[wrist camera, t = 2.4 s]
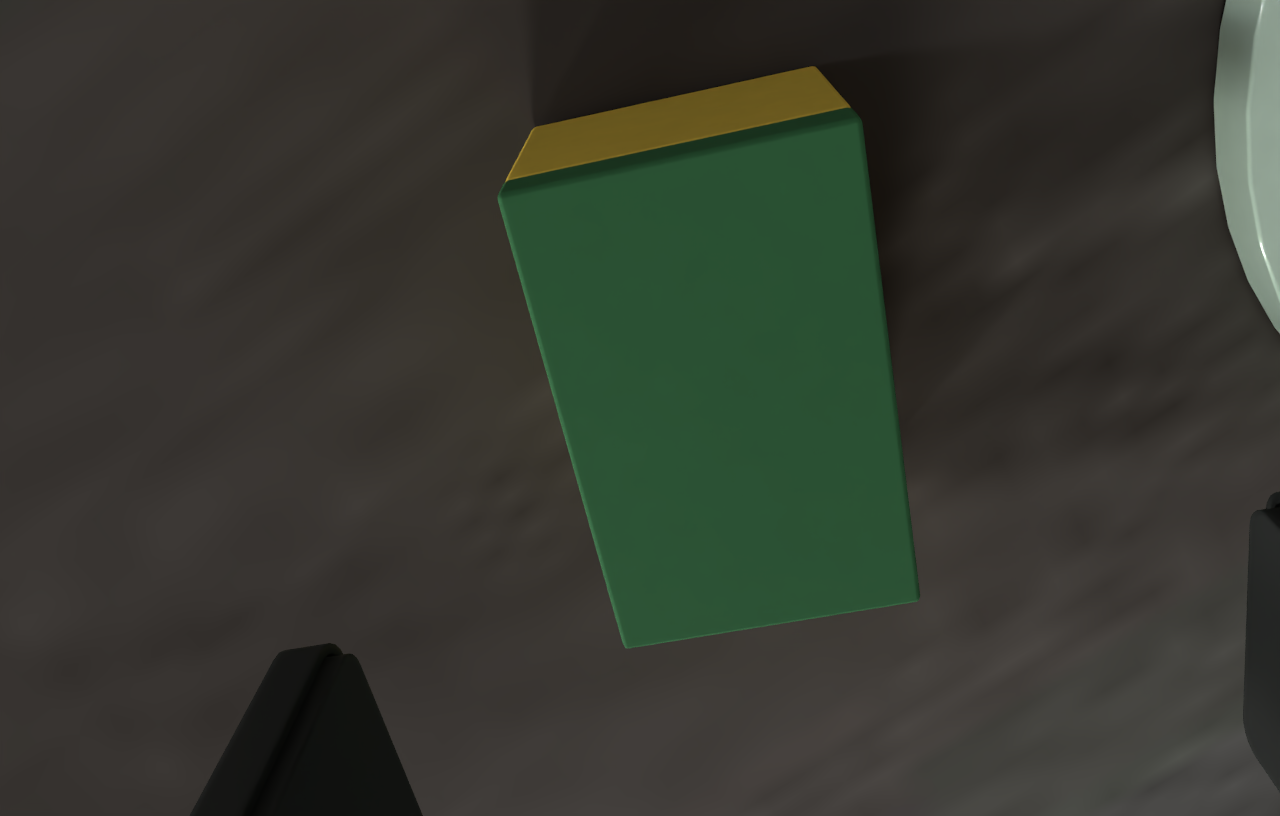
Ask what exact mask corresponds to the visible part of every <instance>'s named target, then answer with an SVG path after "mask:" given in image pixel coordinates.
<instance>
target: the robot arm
mask: <svg viewBox="0 0 1280 816" xmlns="http://www.w3.org/2000/svg"><path fill="white" fill-rule="evenodd" d="M1243 721H1244V728H1245V733H1246V736H1247V739H1248V742H1249V744H1250V747H1251V749H1252V751H1253V753H1254V755H1255V756H1256V758H1257V759H1258V761H1259V762H1260V764H1261V765H1262V767H1263V768H1264V770H1265V771H1266V773H1267V774H1268V776H1269V777H1270V779H1271V780H1272V782H1273V783H1274V785H1275V786H1276V788H1277V789H1278V790H1279V792H1280V492H1276V493H1274V494H1272V495H1271V496H1270V498H1269V500H1268V502H1267V505H1266V509H1263V510H1257V511H1255V512H1254V513H1253V514H1252V516H1251V520H1250V532H1249V561H1248V590H1247V619H1246V648H1245V677H1244V706H1243ZM190 816H423V815H422V813H421V810H420V808H419V806H418V803H417V801H416V798H415V796H414V793H413V791H412V789H411V786H410V784H409V781H408V779H407V777H406V774H405V772H404V769H403V767H402V764H401V762H400V760H399V757H398V755H397V752H396V750H395V747H394V745H393V743H392V740H391V738H390V735H389V733H388V730H387V728H386V726H385V723H384V721H383V718H382V716H381V713H380V711H379V709H378V706H377V704H376V701H375V699H374V697H373V694H372V692H371V689H370V687H369V684H368V682H367V680H366V677H365V675H364V672H363V670H362V667H361V665H360V663H359V661H358V659H357V658H356V657H355V656H354V655H353V654H344V655H343V653H342V651H341V650H340V649H339V648H338V647H337V646H336V645H335V644H331V643H328V644H322V645H316V646H309V647H303V648H297V649H291V650H285V651H282V652H280V653H279V654H278V655H277V656H276V658H275V659H274V660H273V662H272V664H271V666H270V668H269V670H268V672H267V673H266V675H265V677H264V679H263V681H262V683H261V685H260V686H259V688H258V690H257V692H256V694H255V696H254V698H253V699H252V701H251V703H250V705H249V707H248V709H247V710H246V712H245V714H244V716H243V718H242V720H241V722H240V723H239V725H238V727H237V729H236V731H235V733H234V735H233V736H232V738H231V740H230V742H229V744H228V746H227V748H226V749H225V751H224V753H223V755H222V757H221V759H220V761H219V762H218V764H217V766H216V768H215V770H214V772H213V773H212V775H211V777H210V779H209V781H208V783H207V785H206V786H205V788H204V790H203V792H202V794H201V796H200V798H199V799H198V801H197V803H196V805H195V807H194V809H193V811H192V812H191V814H190Z"/></svg>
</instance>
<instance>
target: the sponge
mask: <svg viewBox="0 0 1280 816" xmlns="http://www.w3.org/2000/svg"><path fill="white" fill-rule="evenodd" d="M498 202H499V206H500V209H501V213H502V216H503V220H504V224H505V227H506V231H507V234H508V238H509V241H510V245H511V248H512V252H513V255H514V259H515V263H516V266H517V270H518V273H519V277H520V280H521V284H522V287H523V291H524V294H525V298H526V302H527V305H528V309H529V312H530V316H531V319H532V323H533V326H534V330H535V333H536V337H537V341H538V344H539V348H540V351H541V355H542V358H543V362H544V365H545V369H546V372H547V376H548V380H549V383H550V387H551V390H552V394H553V397H554V401H555V404H556V408H557V411H558V415H559V419H560V422H561V426H562V429H563V433H564V436H565V440H566V443H567V447H568V450H569V454H570V458H571V461H572V465H573V468H574V472H575V475H576V479H577V482H578V486H579V489H580V493H581V497H582V500H583V504H584V507H585V511H586V514H587V518H588V521H589V525H590V528H591V532H592V536H593V539H594V543H595V546H596V550H597V553H598V557H599V560H600V564H601V567H602V571H603V575H604V578H605V582H606V585H607V589H608V592H609V596H610V599H611V603H612V607H613V610H614V614H615V617H616V621H617V624H618V628H619V631H620V635H621V638H622V642H623V645H624V646H625V648H634V647H640V646H646V645H653V644H659V643H665V642H671V641H677V640H683V639H690V638H696V637H702V636H708V635H714V634H720V633H727V632H733V631H739V630H745V629H751V628H757V627H763V626H770V625H776V624H782V623H788V622H794V621H800V620H807V619H813V618H819V617H825V616H831V615H837V614H844V613H850V612H856V611H862V610H868V609H874V608H881V607H887V606H893V605H899V604H905V603H911V602H916V601H918V600H919V598H920V591H919V583H918V574H917V566H916V558H915V550H914V542H913V533H912V525H911V517H910V509H909V501H908V492H907V484H906V476H905V468H904V460H903V451H902V443H901V435H900V427H899V419H898V410H897V402H896V394H895V386H894V378H893V369H892V361H891V353H890V345H889V337H888V329H887V320H886V312H885V304H884V296H883V288H882V279H881V271H880V263H879V255H878V247H877V238H876V230H875V222H874V214H873V206H872V197H871V189H870V181H869V173H868V165H867V156H866V148H865V140H864V132H863V124H862V120H861V119H860V117H859V116H858V115H857V114H856V112H855V111H854V110H853V109H852V108H851V107H850V106H849V104H848V103H847V102H846V101H845V100H844V99H843V98H842V96H841V95H840V94H839V93H838V92H837V91H836V90H835V88H834V87H833V86H832V85H831V84H830V83H829V81H828V80H827V79H826V78H825V77H824V76H823V75H822V73H821V72H820V71H819V70H818V69H817V68H816V67H813V66H810V67H806V68H801V69H797V70H792V71H788V72H783V73H779V74H774V75H770V76H765V77H760V78H756V79H751V80H747V81H742V82H738V83H733V84H729V85H724V86H720V87H715V88H711V89H706V90H701V91H697V92H692V93H688V94H683V95H679V96H674V97H670V98H665V99H661V100H656V101H651V102H647V103H642V104H638V105H633V106H629V107H624V108H620V109H615V110H611V111H606V112H602V113H597V114H592V115H588V116H583V117H579V118H574V119H570V120H565V121H561V122H556V123H552V124H547V125H542V126H538V127H535V128H534V129H532V131H531V133H530V135H529V137H528V139H527V141H526V143H525V145H524V146H523V148H522V150H521V152H520V154H519V156H518V158H517V160H516V162H515V164H514V166H513V167H512V169H511V171H510V173H509V175H508V177H507V179H506V182H505V183H504V185H503V186H502V188H501V190H500V192H499V194H498Z"/></svg>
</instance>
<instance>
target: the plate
mask: <svg viewBox="0 0 1280 816" xmlns="http://www.w3.org/2000/svg"><path fill="white" fill-rule="evenodd" d="M1214 121H1215V143H1216V165H1217V171H1218V177H1219V182H1220V187H1221V192H1222V197H1223V202H1224V207H1225V213H1226V218H1227V223H1228V228H1229V230H1230V233H1231V236H1232V239H1233V241H1234V244H1235V247H1236V249H1237V252H1238V255H1239V258H1240V260H1241V263H1242V266H1243V269H1244V271H1245V274H1246V277H1247V280H1248V282H1249V284H1250V285H1251V287H1252V289H1253V291H1254V292H1255V294H1256V296H1257V298H1258V299H1259V301H1260V303H1261V305H1262V306H1263V308H1264V310H1265V312H1266V313H1267V315H1268V317H1269V319H1270V320H1271V322H1272V324H1273V326H1274V327H1275V329H1276V330H1277V331H1278V332H1279V333H1280V0H1226V3H1225V7H1224V12H1223V17H1222V21H1221V26H1220V34H1219V45H1218V56H1217V67H1216V79H1215V90H1214Z"/></svg>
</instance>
